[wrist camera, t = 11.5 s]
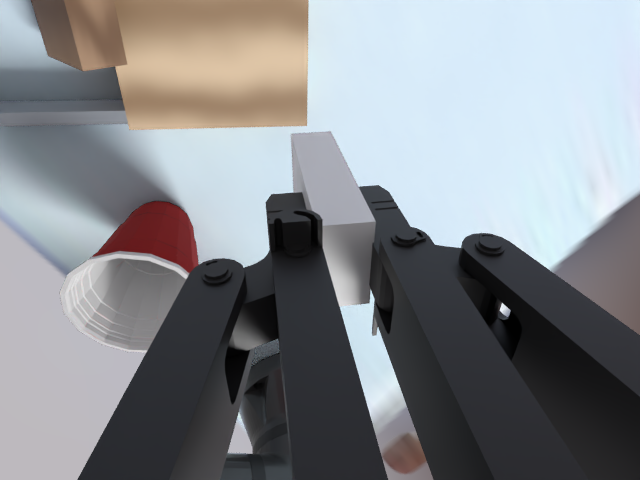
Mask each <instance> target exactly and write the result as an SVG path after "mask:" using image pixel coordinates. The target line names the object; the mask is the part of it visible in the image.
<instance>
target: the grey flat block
mask: <svg viewBox="0 0 640 480" xmlns="http://www.w3.org/2000/svg"><path fill="white" fill-rule="evenodd" d="M86 124H128V121H127V117H126V112H125V108H124V103H123V99H117V100H45V101H0V126H39V125H86Z"/></svg>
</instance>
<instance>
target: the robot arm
mask: <svg viewBox="0 0 640 480" xmlns="http://www.w3.org/2000/svg"><path fill="white" fill-rule="evenodd" d="M291 145H292V168H293V190H294V193H284V194H271V196H270V197H269V199H268V200H267V202H266V212H267V223H268V235H269V246H270V251H269V253H268V254H267V256H266V257H265V258H264V259H263V260H261V261H259V262H258V263H256V264H253V265H251V266H248V267H245V268H243V266H242V265H241V264H240V263H238V262H236V261H235V260H231V259H225V258H223V259H212V260H209V261H206V262H203V263H201V264H200V265H198V266H196V267H195V268H194V269H193V270H192V271H191V272H190V273H189V275H188V277H187V279H186V281H185V283H184V284H183V286H182V288H181V290H180V292H179V294H178V296H177V297H176V299H175V301H174V303H173V305H172V307H171V308H170V310H169V312H168V314H167V316H166V318H165V319H164V321H163V323H162V325H161V327H160V329H159V330H158V332H157V334H156V336H155V338H154V340H153V342H152V343H151V345H150V347H149V349H148V351H147V353H146V355H145V356H144V358H143V360H142V362H141V364H140V366H139V367H138V369H137V371H136V373H135V375H134V377H133V379H132V380H131V382H130V384H129V386H128V388H127V389H126V391H125V393H124V395H123V397H122V399H121V400H120V402H119V404H118V406H117V408H116V410H115V411H114V414H113V415H112V417H111V419H110V421H109V423H108V424H107V426H106V428H105V430H104V432H103V434H102V435H101V437H100V439H99V441H98V443H97V445H96V447H95V448H94V450H93V452H92V454H91V456H90V458H89V459H88V461H87V463H86V465H85V467H84V469H83V470H82V472H81V474H80V476H79V478H78V480H388V478H387V474H386V471H385V467H384V463H383V460H382V456H381V453H380V449H379V446H378V442H377V439H376V435H375V432H374V428H373V424H372V421H371V417H370V414H369V410H368V407H367V403H366V400H365V396H364V392H363V389H362V385H361V382H360V378H359V375H358V371H357V368H356V364H355V360H354V357H353V353H352V350H351V346H350V343H349V339H348V336H347V332H346V328H345V325H344V321H343V318H342V314H341V311H340V307H339V306H348V305H357V304H366V303H369V302H370V289H371V291H372V293H373V296H374V298H375V302H374V314H373V325H372V335H373V336H374V335H376V334H377V327H379V330H380V333H381V336H382V338H383V341H384V344H385V347H386V349H387V352H388V355H389V358H390V360H391V363H392V366H393V369H394V372H395V374H396V377H397V380H398V383H399V385H400V388H401V391H402V394H403V396H404V399H405V402H406V405H407V407H408V410H409V413H410V416H411V418H412V421H413V424H414V427H415V429H416V432H417V435H418V438H419V441H420V443H421V446H422V449H423V452H424V454H425V457H426V460H427V463H428V465H429V468H430V471H431V474H432V476H433V479H434V480H640V335H639V334H637V333H636V332H634V331H633V330H631V329H630V328H629V327H627V326H626V325H625V324H623V323H622V322H620V321H619V320H618V319H616V318H615V317H614V316H612V315H610V314H609V313H608V312H607V311H605V310H604V309H602V308H601V307H600V306H598V305H597V304H596V303H594V302H593V301H591V300H590V299H589V298H587V297H586V296H584V295H583V294H582V293H580V292H579V291H577V290H576V289H575V288H573V287H572V286H571V285H569V284H568V283H566V282H565V281H564V280H562V279H561V278H559V277H558V276H556V275H555V274H554V273H552V272H551V271H550V270H548V269H547V268H546V267H544V266H543V265H541V264H540V263H539V262H537V261H536V260H534V259H533V258H532V257H530V256H529V255H527V254H526V253H525V252H523V251H522V250H521V249H519V248H518V247H516V246H515V245H514V244H512V243H511V242H509V241H507V240H506V239H504V238H502V237H499V236H496V235H493V234H488V233H487V234H486V233H479V234H472V235H470V236H467V237H466V238H465V239H464V240H463V242H462V246H461V248H455V247H445V246H439V245H434V243H433V242H432V240H431V238H430V237H429V236H428V235H427V234H426V233H425V232H423V231H421V230H419V229H417V228H413V227H410V225H409V224H408V222H407V220H406V219H405V217H404V216H403V214H402V212H401V211H400V209H398V206H397V204H396V203H395V202H394V199H393V198H392V196H391V194H390V193H389V192H388V191H387V190H385V189H383V188H382V187H380V186H379V185H376V186H362V187H358V185H357V183H356V181H355V179H354V177H353V175H352V173H351V171H350V169H349V167H348V165H347V163H346V161H345V159H344V157H343V155H342V153H341V151H340V149H339V147H338V145H337V143H336V141H335V139H334V137H333V135H332V133H331V131H329V132H312V133H295V134H291ZM502 303H503V304H504V305H505V306H507V307H508V308H509V309H510V310H511V312H510V315H509V317H506V316H505V315H503V314H502V313H501V312H500V311H499V310H500V307H501V304H502ZM275 339H278V340H279V350H280V354H277V355H274V356H271V357H269V358H266V359H264V360H262V361H260V362H259V363H257V364H256V365H254V366H253V367H252V368H251V365H252V361H253V357H254V354H255V347H258V346H260V345H263V344H265V343H268V342H270V341H273V340H275ZM250 368H251V369H250ZM238 412H240V415H241V418H242V421H243V423H244V426H245V429H246V431H247V434H248V437H249V439H250V442H251V445H252V448H253V454H246V453H227V452H228V449H229V445H230V442H231V438H232V434H233V431H234V426H235V423H236V420H237V416H238Z"/></svg>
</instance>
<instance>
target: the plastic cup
mask: <svg viewBox="0 0 640 480" xmlns="http://www.w3.org/2000/svg"><path fill="white" fill-rule="evenodd" d="M198 265H199V264H198V256H197V248H196V241H195V239H194V231H193V226H192V224H191V222H190V219H189V217H188V215H187V214H186V213H185V212H184V211H183V210H182V209H181V208H180V207H178V206H176V205H173V204H171V203H169V202H161V201H154V202H150V203H146V204H143V205H142V206H140V207H139V208H138V209H136V210H135V211H134V212H132V214H131V215H130V216H129V217H128V218H127V220H126V221H125V222H124V223H123V224H121V225H120V226H119V227H118V229H117V230H116V231H115V232H114V233H113V235H112V236H111V237H110V238H109V239H108V240H107V242H106V243H105V244H104V245H103V246H102V247H101V249H100V250H99V251H98V252H97V253H96V254H94V255H93V256H92V257H91V258H89V259H88V260H86V261H85V262H84V263H82V264H81V265H79V266H78V267H76V268H75V269H74V270H72V271H71V272H70V273H68V274H67V276H66V279H65V281H64V283H63V286H62V288H61V290H60V293H59V294H60V299H61V303H62V308H63V313H64V314H65V315H66V317H67V318H68V319H69V320H70V321H71V323H72V324H73V325H74V326H75V327H76V328H77V330H78V331H80V332H81V333H83V334H85V335H86V336H88V337H90V338H91V339H93V340H95V341H96V342H98V343H100V344H102V345H105V346H109V347H112V348H116V349H119V350H122V351H126V352H140V353H147V351H148V349H149V347H150V345H151V343H152V342H153V340H154V338H155V336H156V334H157V332H158V330H159V329H160V327H161V325H162V323H163V321H164V319H165V318H166V316H167V314H168V312H169V310H170V308H171V307H172V305H173V303H174V301H175V299H176V297H177V296H178V294H179V292H180V290H181V288H182V286H183V284H184V283H185V281H186V279H187V277H188V275H189V273H190V272H191V271H192V270H193V269H194V268H195V267H196V266H198Z"/></svg>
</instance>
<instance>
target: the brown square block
mask: <svg viewBox="0 0 640 480" xmlns="http://www.w3.org/2000/svg"><path fill="white" fill-rule="evenodd" d="M31 2H32V5H33V9H34V12H35V15H36V18H37V22H38V25H39V28H40V32H41V35H42V38H43V41H44V45H45V48H46V51H47V54H48V56H49V57H52V58H54V59H56V60H58V61H61V62H63V63H65V64H68V65H70V66H72V67H74V68H77V69H79V70H81V71H88V70H95V69H102V68H108V67H115V66H122V65H128V64H127V60H126V55H125V50H124V45H123V41H122V36H121V31H120V27H119V22H118V17H117V12H116V8H115V3H114V0H31Z"/></svg>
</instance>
